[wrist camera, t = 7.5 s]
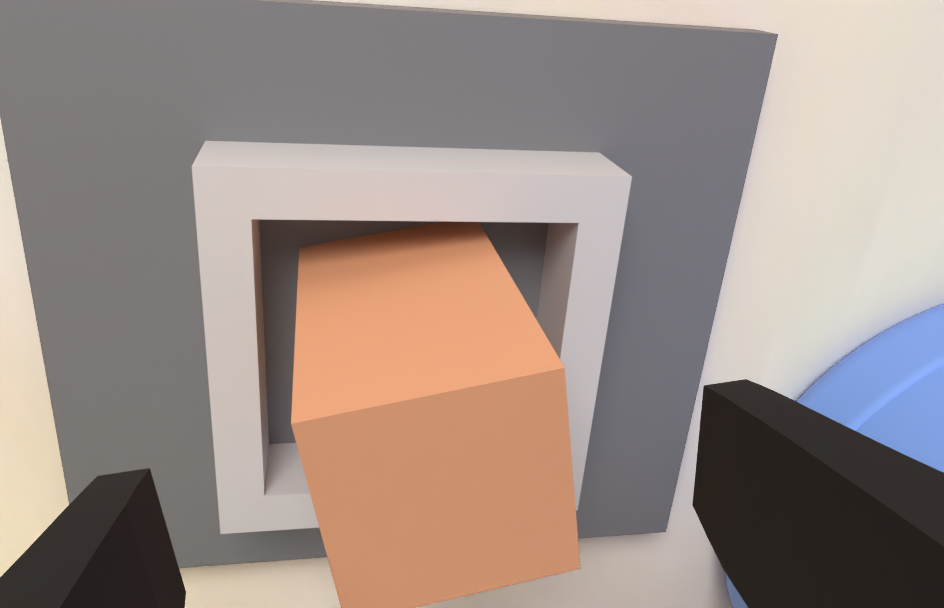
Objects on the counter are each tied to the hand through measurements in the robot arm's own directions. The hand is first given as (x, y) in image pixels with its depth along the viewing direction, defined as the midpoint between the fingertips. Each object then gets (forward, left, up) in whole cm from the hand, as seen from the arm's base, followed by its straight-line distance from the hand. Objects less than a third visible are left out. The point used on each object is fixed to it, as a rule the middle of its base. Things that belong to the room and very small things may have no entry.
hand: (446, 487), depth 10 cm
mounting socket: (0, +2, -9) cm, 10 cm away
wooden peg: (0, +1, -8) cm, 9 cm away
